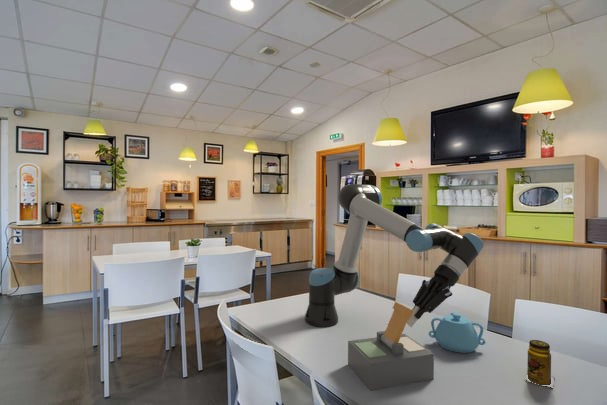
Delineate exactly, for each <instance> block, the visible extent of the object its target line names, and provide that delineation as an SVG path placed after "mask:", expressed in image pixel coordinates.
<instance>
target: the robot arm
mask: <svg viewBox="0 0 607 405" xmlns="http://www.w3.org/2000/svg"><path fill="white" fill-rule="evenodd" d="M337 199H338V203H339V206H341V208H342V209H343V210H345V211H346V212H347V213H348V214H349V218H348V222H347V225H346V226H347V227H346V229H345V233H344V237H343V241H342V245H341V248H340V249H341V250H340V253H339V256H338V259H337V260H336V261H334V263H333V265H332V268H331V267H318V268H316V269H313V270H312V271H310V273H309V278H308V306H307V309H306V311H305V313H304V314H305V316H304V321H305V323H306V324H307V325H310V326H313V327H320V328H325V327H332V326H336V325H337V324H338V323H339V315H338V311H337V308H336V305H335V296H337V295H342V294H345V293H347V294H348V293H350V292H352V291H354V290H356V289H357V288H358V286H359V284H360V281H361V280H360V276H359V269H358V267H357V261H358V260H359V255H360V253H361V251H360V250H361V249H362V248H361V247H362V243H363V240H364V236H365V233H366V229H367V226H368V222H370V223H372V224H373V225H375V226H377V227H378V228H380V229H382V230H383V231H386V232H387V233H388V234H391V235H392V236H394V237H396V238H397V239H399V240H401V241H403V242H404V243H405V244H406V246H407V247H408V249H409V250H411V252H416V253H419V252H420V253H424V252H427V251H432V250H437V249H440V250H442V251H444V252H445V253H448V254H447V255H446V256H445V258H444V259H443V260H442V261H441V264H439V265H438V266H437V267H436V269H435V270H434V272H433V273H434V274H433V276H432V277H431V278H430V279H429V280H426V279H423V280H422V282H421V285H420V288H419V289H418V291H417V293H416V294H415V297H414V298H413V300H412V303H413V304H414V306H413V308H411V310H413V313H412V316H411V318H410V317H408V320H407V322H406V325H408V327H410V328H412V327H413V326H415V324H416V322H418V320H420V319H421V317H422V316H423V315H424V314H425V313H430V314H431V313H433V311H435V309H436V308H438V307H439V306H440V305H441V304H442V303H443V302H445V301H446V300H447V299H448V298H450V297H451V296H453V292H452V291H451V288H452V287H454V286H455V285H456V284H457V282H458V281H459V280H460V278H461V277H462V276H463V275H464V273H465V272H466V271H467V269H468V268H469V267H470V266H471V265H472V263H473V262H474V260H475V259H476V258H477V257H478V256H479V255H480V253H481V251H482V250H483V248H484V247H485V246H484V241H483V240H482V238H481V237H479V236H478V235H477V234H474V233H472V232H465V233H464V234H463V235H460V234H457V233H456V232H453V231H452V230H450V229H447V228H445V227H444V226H442V225H440V224H437V223H434V222H431V223H429V224H427V225H426V226H425V228H424V227H422V226H420V225H419V224H417V223H415V222H413V221H411V220H409V219H407V218H405V217H404V216H401V215H400V214H398V213H396V212H393V211H392V210H390V209H388V208H386V207H384V206H382V202H383V195H382V193H381V191H380V189H379V188H378V187H376V186H375V185H372V184H367V183H366V184H365V183H363V184H360V183H349V184H346V185H344V186H342V188H341V189H340V190H339V192H338V196H337Z"/></svg>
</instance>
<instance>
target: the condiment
mask: <svg viewBox="0 0 607 405" xmlns="http://www.w3.org/2000/svg"><path fill="white" fill-rule="evenodd" d="M528 343H529V346H528V349H527V369H526V370H527V371H526V375H528V379H529V380H530V381H531V382H533V383H536V384H539V385H538V386H540V385H550V384H551V377H552V354H551V352H550V351H551V350H550V349H551V346H550V344H549V343H548V342H546V341H543V340H538V339H530V340H529V342H528ZM526 375H525V376H526ZM524 381H525V382H527V383H531V382H528V381H526V380H525V379H524ZM533 383H531V384H533ZM536 384H535V385H536ZM546 388H547V389H551V388H550V387H546Z"/></svg>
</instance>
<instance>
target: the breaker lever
mask: <svg viewBox="0 0 607 405" xmlns="http://www.w3.org/2000/svg"><path fill="white" fill-rule="evenodd" d="M392 309H393V311H392V315H391V317H390V319H389V321H388V324H387V326H386V330H384V331H385V334H384V335H382V336H381V341H382V342H383V343H385V344H386V345H387V346H388V347H390V348H391V349H392V344H394V343H398V342H399V340H400V337H401V335H402V334H403V332H404V330H405V327H406V325H407V323H406V322H407V320H408V317H410V318H411V316H412V313H413V310H412V308H411V309H410V308H409V307H407V306H406V305H404V304H401V303H400V302H397V301H394V304H393V306H392Z"/></svg>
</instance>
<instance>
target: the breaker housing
mask: <svg viewBox="0 0 607 405" xmlns="http://www.w3.org/2000/svg"><path fill="white" fill-rule="evenodd" d="M385 331H386V330H382V331H376V337H369V338H361V339H354V340H353V339H352V340H348V341H347V365H348V366H349V367H350V369H352V371H353V372H354V373H355V374H356V375H357V376H358V378H359V379H360V380H361V381H362V382H363V384H364V385H365V386H366V387H367V388H368V389H369V390H370V391H375V390H381V389H387V388H391V387H398V386H403V385H408V384H409V385H410V384H415V383H420V382H424V381H430V380H434V376H435V374H434V373H435V372H434V370H435V368H434V367H435V353H434V352H432V351H430V350H429V349H427V348H426V347H424V346H423V345H421V344H420V343H418V341H416V340H415V339H413V338H411V337H410V336H408V335H406V333H402V335H401V337H400V340H399V342H398V343H394V344H392V349H391V348H390V347H388V346H387V345H386V344H385V343H383V342H382V341H381V336H382V335H384V334H385Z"/></svg>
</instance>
